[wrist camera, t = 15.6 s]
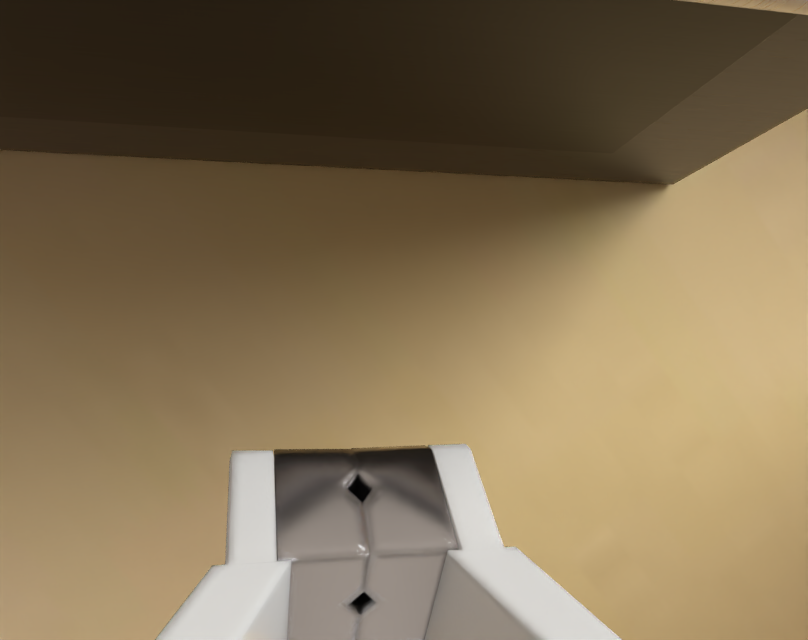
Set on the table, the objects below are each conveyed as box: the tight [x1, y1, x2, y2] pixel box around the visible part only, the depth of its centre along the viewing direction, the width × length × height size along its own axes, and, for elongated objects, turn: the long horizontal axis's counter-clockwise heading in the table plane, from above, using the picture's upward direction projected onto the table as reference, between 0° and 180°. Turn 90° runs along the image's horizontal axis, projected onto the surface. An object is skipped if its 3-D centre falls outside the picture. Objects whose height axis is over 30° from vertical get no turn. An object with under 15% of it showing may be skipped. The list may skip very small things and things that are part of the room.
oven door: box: [0, 0, 808, 184], centre depth 20 cm, size 6×40×24 cm, turn 92°
